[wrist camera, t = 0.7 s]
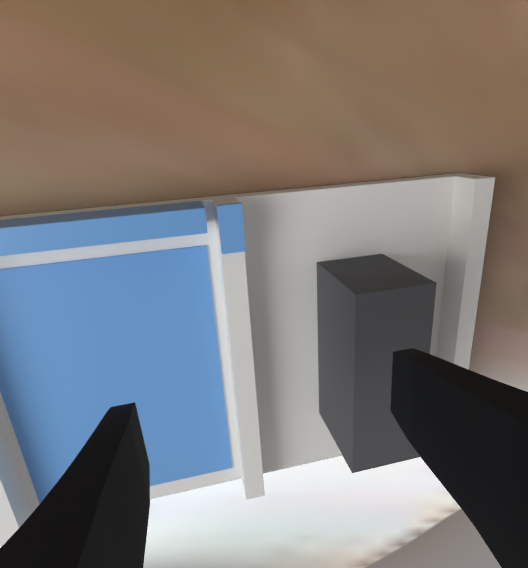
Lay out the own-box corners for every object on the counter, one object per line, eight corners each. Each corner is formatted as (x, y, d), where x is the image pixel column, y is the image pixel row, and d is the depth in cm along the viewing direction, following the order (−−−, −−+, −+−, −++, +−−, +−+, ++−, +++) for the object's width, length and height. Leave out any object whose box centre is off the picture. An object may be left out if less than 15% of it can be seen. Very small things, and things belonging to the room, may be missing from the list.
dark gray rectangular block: (375, 401, 24) (420, 456, 19) (318, 412, 23) (352, 473, 19) (381, 253, 20) (436, 283, 16) (316, 262, 20) (356, 295, 16)
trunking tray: (432, 422, 27) (463, 455, 24) (22, 513, 22) (2, 566, 19) (459, 173, 21) (503, 178, 18) (-86, 224, 16) (-137, 241, 14)
